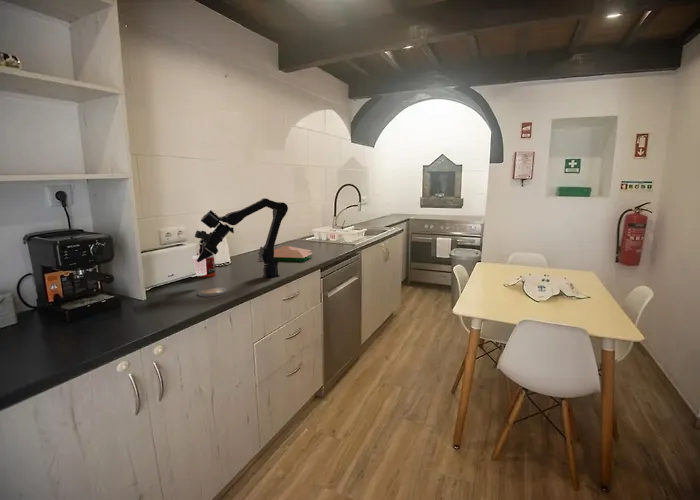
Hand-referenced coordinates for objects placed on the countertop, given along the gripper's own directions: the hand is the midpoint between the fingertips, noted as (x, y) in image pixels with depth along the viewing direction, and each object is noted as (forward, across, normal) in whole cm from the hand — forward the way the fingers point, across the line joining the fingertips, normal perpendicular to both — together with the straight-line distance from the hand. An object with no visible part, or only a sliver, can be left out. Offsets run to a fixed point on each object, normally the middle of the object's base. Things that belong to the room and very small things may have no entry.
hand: (196, 260), depth 167 cm
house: (-31, -41, +52) cm, 73 cm away
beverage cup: (+4, 0, +6) cm, 7 cm away
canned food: (+5, -22, +14) cm, 26 cm away
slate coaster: (+7, +13, +12) cm, 19 cm away
